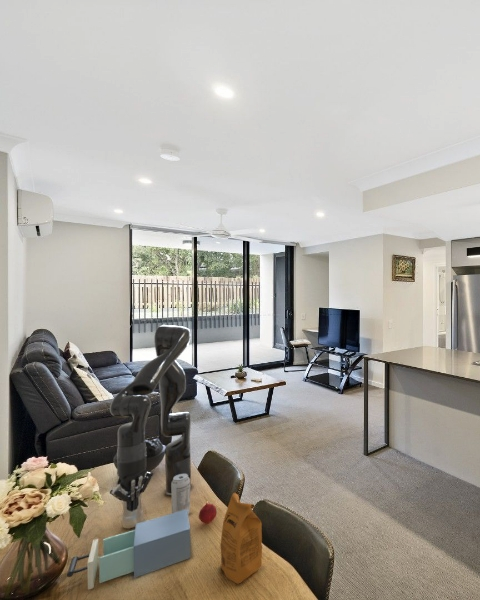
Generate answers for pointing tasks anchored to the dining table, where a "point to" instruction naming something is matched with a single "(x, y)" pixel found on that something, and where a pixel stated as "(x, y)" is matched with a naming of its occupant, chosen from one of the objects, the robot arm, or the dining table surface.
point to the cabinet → (161, 542)
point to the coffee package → (240, 541)
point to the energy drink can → (180, 493)
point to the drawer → (108, 558)
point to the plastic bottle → (132, 514)
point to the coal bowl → (151, 454)
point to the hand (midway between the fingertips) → (132, 509)
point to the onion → (207, 513)
